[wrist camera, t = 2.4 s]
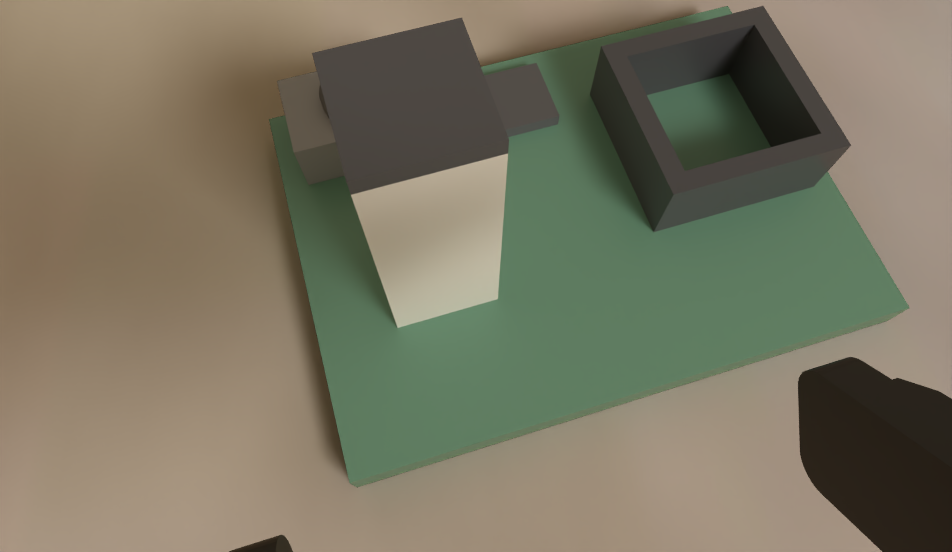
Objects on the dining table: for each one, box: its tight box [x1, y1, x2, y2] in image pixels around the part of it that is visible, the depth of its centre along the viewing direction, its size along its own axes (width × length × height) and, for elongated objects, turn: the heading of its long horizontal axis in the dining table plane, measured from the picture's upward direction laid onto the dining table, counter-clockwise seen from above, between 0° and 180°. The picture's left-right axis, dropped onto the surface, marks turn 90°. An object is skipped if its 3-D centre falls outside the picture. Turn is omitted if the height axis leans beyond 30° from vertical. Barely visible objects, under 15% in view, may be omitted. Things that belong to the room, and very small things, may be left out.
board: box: [269, 6, 909, 487], centre depth 27 cm, size 22×16×4 cm
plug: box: [312, 18, 509, 328], centre depth 21 cm, size 4×4×11 cm
